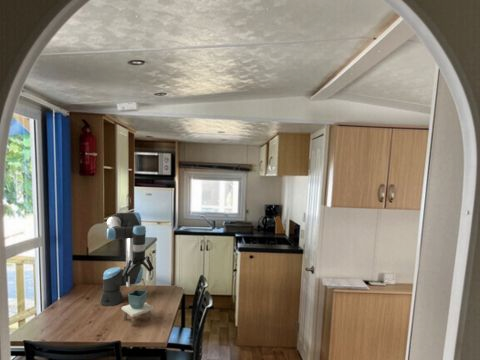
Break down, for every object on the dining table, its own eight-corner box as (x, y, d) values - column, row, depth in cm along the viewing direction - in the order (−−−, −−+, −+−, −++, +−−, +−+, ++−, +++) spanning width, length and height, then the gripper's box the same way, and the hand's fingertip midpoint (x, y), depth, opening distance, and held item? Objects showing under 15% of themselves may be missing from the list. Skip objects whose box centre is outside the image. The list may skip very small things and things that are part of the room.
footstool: (121, 319, 179) (121, 307, 179) (141, 312, 189) (142, 300, 189) (132, 327, 169) (132, 314, 169) (153, 319, 180) (153, 307, 180)
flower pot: (140, 311, 174) (140, 296, 174) (127, 309, 176) (127, 294, 176) (147, 304, 183) (147, 291, 183) (135, 303, 184) (135, 289, 184)
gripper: (122, 255, 167) (121, 291, 167) (159, 248, 186) (158, 280, 186) (116, 252, 172) (115, 287, 172) (153, 246, 191) (152, 277, 191)
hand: (138, 283), depth 179 cm, fingers open, 13 cm apart
